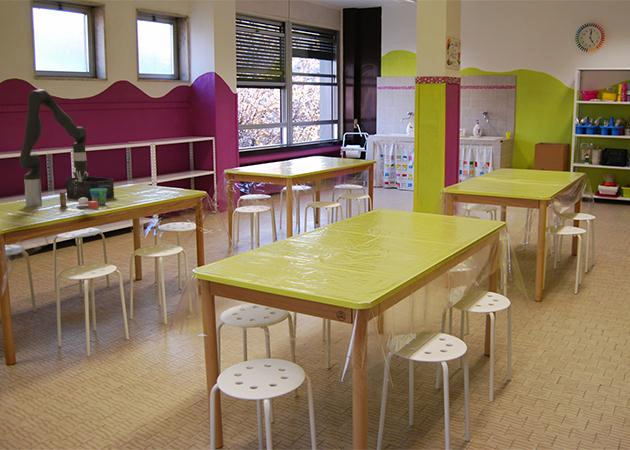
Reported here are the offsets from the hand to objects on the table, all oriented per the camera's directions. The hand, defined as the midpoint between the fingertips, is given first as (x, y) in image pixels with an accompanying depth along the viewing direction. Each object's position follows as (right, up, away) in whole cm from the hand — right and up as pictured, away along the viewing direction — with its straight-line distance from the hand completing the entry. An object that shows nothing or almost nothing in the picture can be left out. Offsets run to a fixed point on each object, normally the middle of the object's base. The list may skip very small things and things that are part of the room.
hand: (82, 187), depth 414 cm
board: (-2, -14, 0) cm, 14 cm away
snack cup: (+5, -10, +17) cm, 21 cm away
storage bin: (-10, -5, +45) cm, 46 cm away
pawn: (-11, -13, -1) cm, 17 cm away
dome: (0, -10, +2) cm, 10 cm away
